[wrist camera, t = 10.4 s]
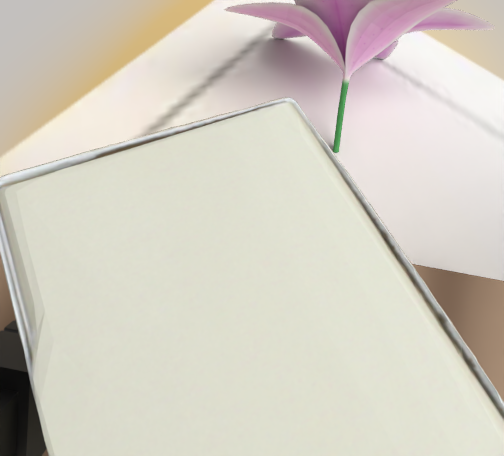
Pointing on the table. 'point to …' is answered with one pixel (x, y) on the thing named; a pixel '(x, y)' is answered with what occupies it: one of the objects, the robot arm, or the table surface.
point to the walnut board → (448, 297)
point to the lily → (359, 28)
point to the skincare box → (230, 303)
